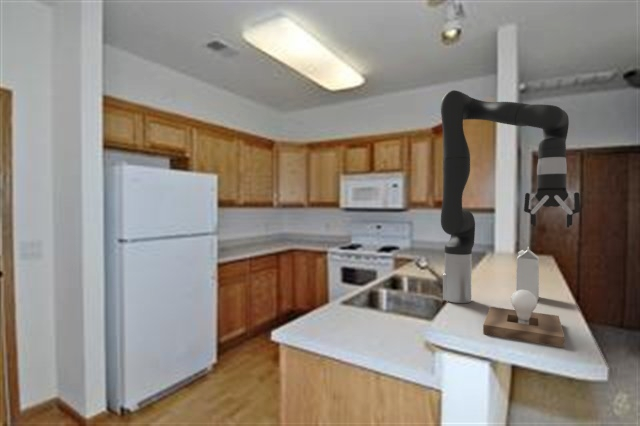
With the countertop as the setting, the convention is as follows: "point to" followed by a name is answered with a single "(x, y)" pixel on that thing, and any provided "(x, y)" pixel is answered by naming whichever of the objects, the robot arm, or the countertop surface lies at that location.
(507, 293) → the countertop surface
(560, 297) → the countertop surface
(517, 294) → the lightbulb
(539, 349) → the countertop surface
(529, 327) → the holder block
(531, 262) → the milk carton
